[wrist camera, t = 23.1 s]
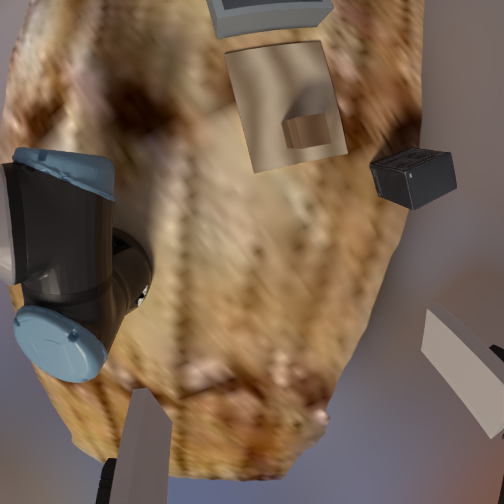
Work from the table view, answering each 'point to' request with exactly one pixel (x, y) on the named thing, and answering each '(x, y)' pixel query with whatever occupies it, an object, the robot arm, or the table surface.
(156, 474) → the robot arm
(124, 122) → the table surface
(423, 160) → the small box
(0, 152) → the table surface
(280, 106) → the board with wooden block
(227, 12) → the toolbox
